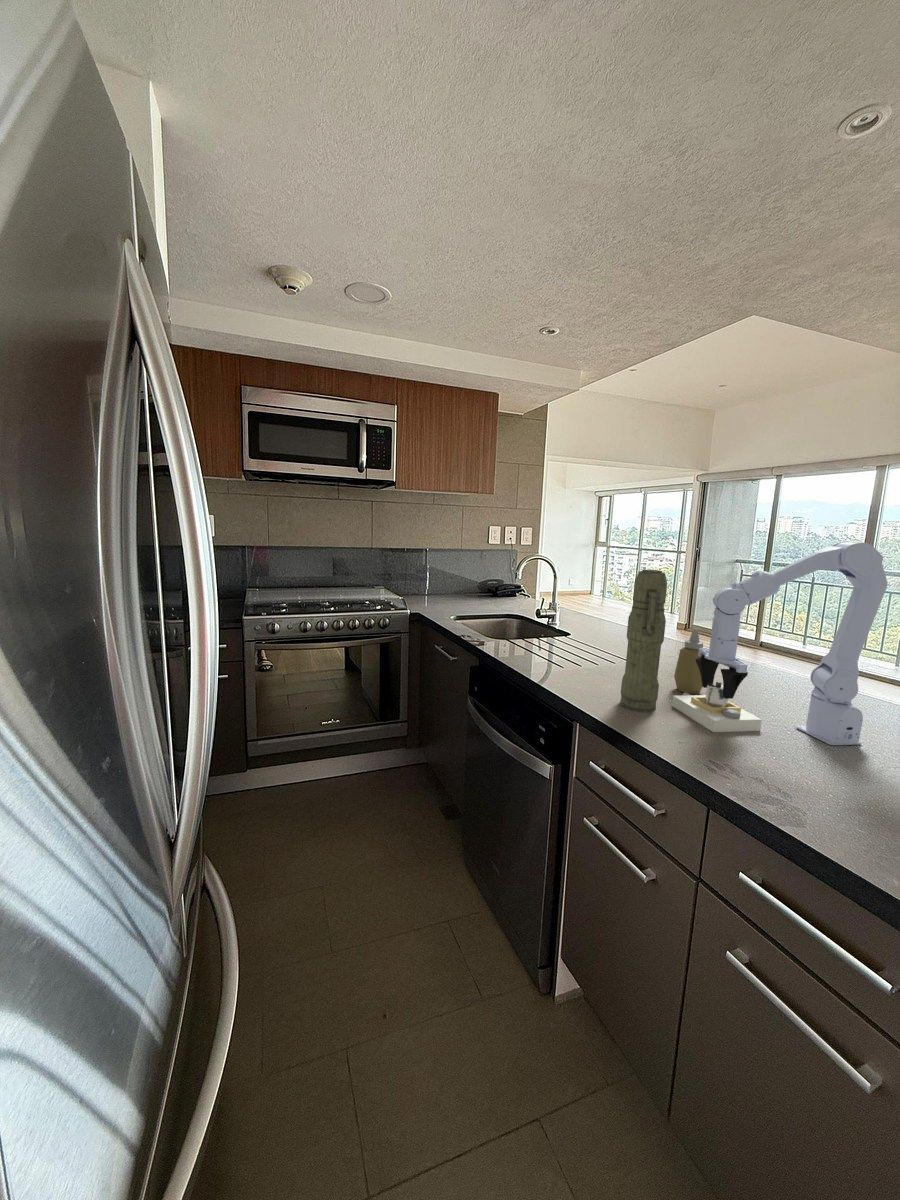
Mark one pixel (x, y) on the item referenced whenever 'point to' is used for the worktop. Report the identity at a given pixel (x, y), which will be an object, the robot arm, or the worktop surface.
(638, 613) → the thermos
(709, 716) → the white holder tray
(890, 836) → the worktop surface
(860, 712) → the robot arm
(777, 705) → the worktop surface
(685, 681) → the squeeze bottle
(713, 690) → the spout can
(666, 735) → the worktop surface
